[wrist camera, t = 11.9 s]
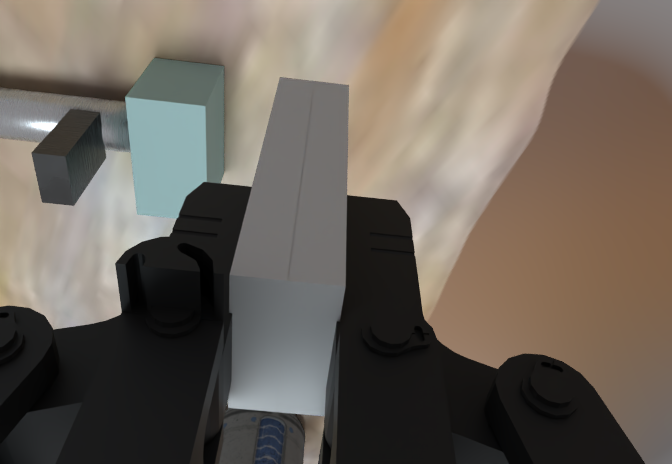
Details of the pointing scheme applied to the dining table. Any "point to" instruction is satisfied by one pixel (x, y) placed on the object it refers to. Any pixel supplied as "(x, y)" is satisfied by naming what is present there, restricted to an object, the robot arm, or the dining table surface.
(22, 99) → the block with metal shaft
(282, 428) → the beverage bottle
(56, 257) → the dining table surface
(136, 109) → the pale blue rectangular block
